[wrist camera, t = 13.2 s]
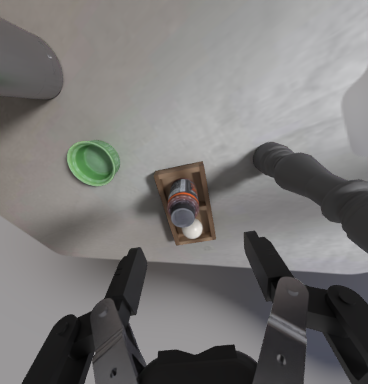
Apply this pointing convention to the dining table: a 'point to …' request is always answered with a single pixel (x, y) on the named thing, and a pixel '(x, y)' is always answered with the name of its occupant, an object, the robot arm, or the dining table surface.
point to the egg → (193, 230)
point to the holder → (198, 176)
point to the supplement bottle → (183, 202)
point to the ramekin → (93, 162)
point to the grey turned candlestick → (319, 188)
